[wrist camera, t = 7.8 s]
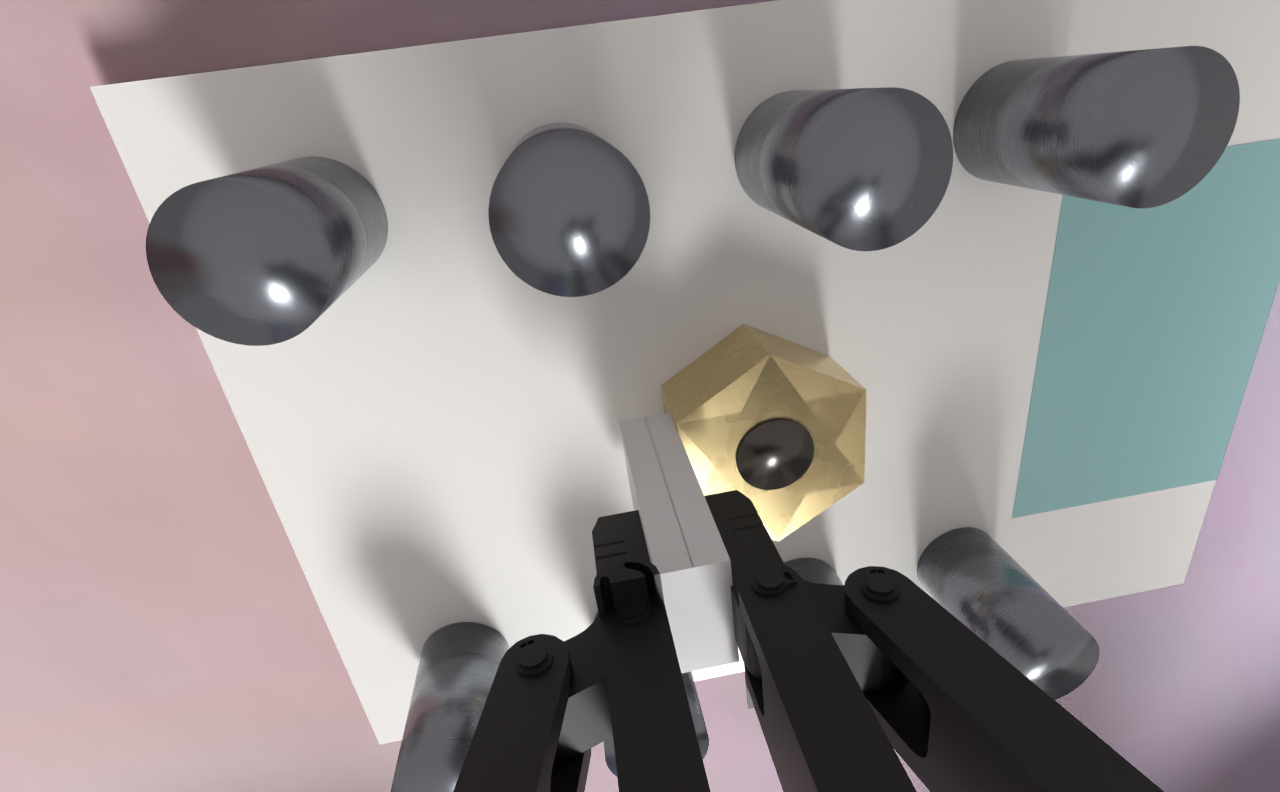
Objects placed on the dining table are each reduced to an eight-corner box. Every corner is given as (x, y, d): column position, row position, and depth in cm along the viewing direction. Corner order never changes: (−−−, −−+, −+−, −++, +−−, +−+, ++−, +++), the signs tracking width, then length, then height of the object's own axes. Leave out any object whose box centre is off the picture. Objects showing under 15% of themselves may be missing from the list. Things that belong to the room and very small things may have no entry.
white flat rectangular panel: (1348, -69, 17) (1392, -78, 17) (1162, 567, 27) (1183, 583, 26) (116, 87, 15) (89, 87, 14) (385, 720, 25) (379, 744, 24)
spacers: (1067, 52, 17) (1258, 36, 12) (989, 584, 25) (1089, 693, 20) (239, 165, 15) (114, 193, 11) (434, 693, 23) (407, 837, 19)
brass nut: (785, 291, 19) (820, 319, 16) (869, 413, 21) (909, 453, 18) (622, 415, 19) (632, 458, 17) (717, 520, 22) (738, 571, 19)
